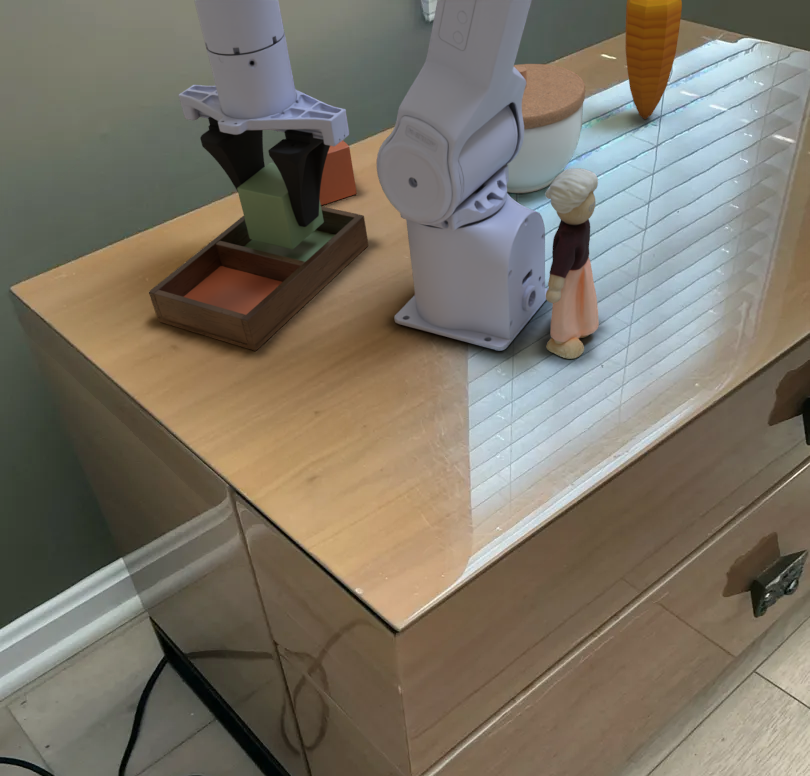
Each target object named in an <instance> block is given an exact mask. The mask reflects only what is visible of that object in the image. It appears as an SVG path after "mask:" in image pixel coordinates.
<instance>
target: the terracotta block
mask: <svg viewBox="0 0 810 776" xmlns="http://www.w3.org/2000/svg"><path fill="white" fill-rule="evenodd" d="M356 187H357V186H356V180H355V174H354V166H353V160H352V154H351V147H350V146H349V144H347V142H345V141H344V140H342V141H341V142H339V143H338V144H337V145H336V146H330V148H329V151H328V154H327V157H326V160H325V164H324V169H323V174H322V180H321V188H320V204H321V206H325V205H327V204H330V203H334V202H337V201H339V200H343V199H345V198H348V197H351V196H354V195H357V193H358V192H357V188H356Z"/></svg>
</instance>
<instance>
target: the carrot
mask: <svg viewBox="0 0 810 776" xmlns="http://www.w3.org/2000/svg"><path fill="white" fill-rule="evenodd" d="M682 9H683V1H682V0H626V7H625V47H624V48H625V57H626V58H625V59H626V71H627V77H628V84H629V90H630V93H631V97H632V100H633V103H634V106H635V108H636V110H637V113H638V115H639V116H640V117H641V118H642V120H648V118H649V117H650V116H652V115H653V113H654V111H655V110H656V109H657V107H658V105H659V104H660V101H661V99H662V97H663V95H664V93H665V91H666V88H667V87H668V83H669V79H670V76H671V73H672V69H673V66H674V62H675V58H676V53H677V47H678V41H679V34H680V27H681V18H682Z"/></svg>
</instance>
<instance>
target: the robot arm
mask: <svg viewBox="0 0 810 776" xmlns="http://www.w3.org/2000/svg"><path fill="white" fill-rule="evenodd" d="M279 1H280V0H193V2H194V5H195V9H196V14H197V18H198V21H199V25H200V30H201V34H202V38H203V42H204V45H205V49H206V54H207V57H208V61H209V65H210V69H211V73H212V77H213V81H214V85H201V84H192V85H190V86H189V87H188V88H186V89H184V90H183V91H182V92H180V93H179V94H178V95H177V96H178V99H179V103H180V107H181V111H182V114H183V117H184V119H185V120H187V121H197V120H199V119H200V118H203V119H208V123H209V125H208V130H206V131H205V132H204V133H202V134H201V136H200V143H201V146H202V148H203V149H204V150H206V151H207V152H208V153H209V155H211V156H212V158H213V159H214V160H215V161H216V162H217V163H218V164H219V166H220V167H221V169H223V171H224V172H225V174H226V175H227V177H228V178H229V180H230V181H231V183H232V184H233V187H234V189H235V190H236V192H237V193H238V190H237V188H238V187H239V186H240V185H242V184H243V183H244V182H246V181H247V180H248V179H250V178H251V177H252V176H253V175H255V174H256V173H257V172H259V171H260V170H261V169H262V168H264V167H265V166H266V165H265V155H264V139H263V137H264V135H263V134H264V131H275V132H280V133H284V138H283V139H281V140H279V142H277V143H275V144H274V145H273V146H272V147H271V148H269V149H268V150H267V152H268V156H269V157H270V158H271V160H272V162H273V163H275V165H276V166H277V168H278V170H279V172H280V174H281V176H282V178H283V180H284V183H285V185H286V188H287V191H288V194H289V198H290V202H291V206H292V210H293V213H294V216H295V218H296V221H297V223H298V225H299V226H302V227H306V226H308V225H309V224H310V223H311V222H312V221H313V220H315V219H316V218H317V217H318V216H319V200H320V188H321V180H322V174H323V169H324V164H325V160H326V157H327V154H328V151H329V148H330V146H336V145H337V144H338V143H339V142H341V141H342V140H343V141H344V140H345V139H346V138H347V137H348V136H350V128H349V123H348V116H347V109H346V108H342V107H337V106H334V105H332V104H327V103H326V102H323V101H321V100H319V99H317V98H315V97H313V96H311V95H308V94H306V93H304V92H302V91H300V90H298V89H296V86H295V80H294V75H293V71H292V70H293V69H292V65H291V59H290V53H289V49H288V44H287V38H286V33H285V29H284V28H285V27H284V23H283V17H282V12H281V7H280V2H279ZM532 1H533V0H436V6H435V10H434V17H433V21H432V27H431V31H430V38H429V43H428V49H427V53H426V59H425V61H424V64H422V67H421V69H420V71H419V73H418V74H417V76H416V77H415V79H414V81H413V82H412V84H411V86H410V87H409V88H408V90H407V91H406V92H407V93H406V94H405V96H404V97H403V99H402V101H401V102H400V104H399V107H398V108H397V109H398V110H397V116H396V119H395V120H396V121H395V125H394V127H393V129H392V131H391V133H390V134H389V135H388V136H387V137H386V138H385V139H384V140H383V142H382V143H381V145H380V147H379V149H378V152H377V157H376V172H377V173H376V174H377V179H378V181H379V185H380V187H381V190H382V192H383V193H384V195H385V197H386V199H387V201H389V203H390V204H391V205H392V206H393V207H394V210H396V211H397V212H398V213H399V214H400V215H399V216H400V218H401V219H404V220H405V222H406V231H407V240H408V248H409V256H410V266H411V272H412V282H413V290H414V295H413V296H412V297H411V298H410V299H409V300H408V301H407V302H406V303H405V305H403V306H402V307H401V308H400V310H399V311H397V313H396V314H394V323H395V324H398V325H402V326H405V327H409V328H412V329H416V330H420V331H423V332H427V333H431V334H435V335H438V336H443V337H447V338H450V339H453V340H457V341H461V342H465V343H469V344H472V345H476V346H478V347H484V348H487V349H491V350H494V351H497V352H500V351H505V350H506V349H507V348H508V347H509V346H510V344H511V343H512V342H513V341H514V340H515V338H517V336H518V335H519V333H520V332H521V331H522V330H523V328H524V327H526V325H527V324H528V322H529V321H530V320H531V319H532V317H533V316H534V315H535V314H536V313H537V311H538V310H539V309H540V308H541V307H542V306H543V304H544V303H545V302H546V301H547V299H546V292H547V290H548V288H547V287H546V228H545V222H544V219H543V217H542V215H541V213H540V212H539V211H536V210H534V209H531V208H529V207H527V206H525V205H523V204H520V203H519V202H518V201H516V200H515V199H514V198H513V197H511V196H510V194H509V193H508V192H507V182H508V181H509V173H508V163H510V162H511V161H512V160H513V159H514V158H515V157H516V156H517V154H518V153H519V151H520V149H521V147H522V143H523V139H524V122H523V116H522V98H523V93H524V90H525V86H526V80H525V79H524V77H523V76H522V75H521V74H520V72H519V71H518V70H517V69H516V68H515V67H514V65H515V63H516V59H517V56H518V52H519V48H520V45H521V41H522V38H523V34H524V30H525V26H526V23H527V19H528V15H529V11H530V8H531V5H532Z"/></svg>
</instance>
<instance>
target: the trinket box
mask: <svg viewBox="0 0 810 776" xmlns="http://www.w3.org/2000/svg"><path fill="white" fill-rule="evenodd" d="M514 67H515V68H516V69H517V70H518V71H519V72H520V74H521V75H522V76H523V77H524V79H525V80H526V86H525V90H524V93H523V98H522V116H523V122H524V139H523V143H522V147H521V149H520V151H519V153H518V154H517V156H516V157H515V158H514V159H513V160H512V161H511V162H510V163H508V173H509V181H508V182H507V193H511V194H526V193H527V194H528V193H533V192H537V191H540V190H543V189H544V188H547V187H548V186H550V185H551V184H552V183H553V181H554V179H555V178H556V177H557V176H558V175H559V174H560V173H562V172H563V171H564V169H565V168H566V167H567V166H568V164H569V163H570V161H571V160H572V158H573V157H574V154H575V153H576V150H577V148H578V144H579V141H580V138H581V134H582V133H581V132H582V127H583V117H584V116H583V115H584V103H585V98H586V85H585V82H584V80H583V78H582V77H581V76H579V75H578V74H577V73H576V72H574V71H572V70H570V69H567V68H565V67H561V66H558V65H552V64H543V63H522V64H521V63H520V64H514Z"/></svg>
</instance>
